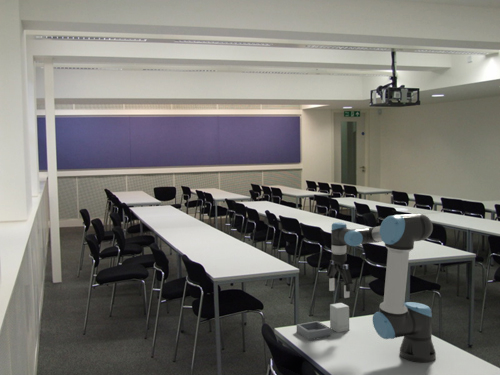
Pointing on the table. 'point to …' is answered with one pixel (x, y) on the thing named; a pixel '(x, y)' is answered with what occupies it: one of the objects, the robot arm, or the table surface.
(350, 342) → the table surface
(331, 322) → the supplement box
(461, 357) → the table surface
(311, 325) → the box
